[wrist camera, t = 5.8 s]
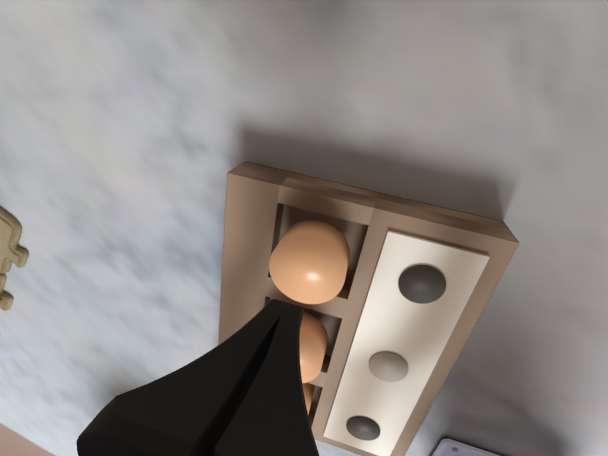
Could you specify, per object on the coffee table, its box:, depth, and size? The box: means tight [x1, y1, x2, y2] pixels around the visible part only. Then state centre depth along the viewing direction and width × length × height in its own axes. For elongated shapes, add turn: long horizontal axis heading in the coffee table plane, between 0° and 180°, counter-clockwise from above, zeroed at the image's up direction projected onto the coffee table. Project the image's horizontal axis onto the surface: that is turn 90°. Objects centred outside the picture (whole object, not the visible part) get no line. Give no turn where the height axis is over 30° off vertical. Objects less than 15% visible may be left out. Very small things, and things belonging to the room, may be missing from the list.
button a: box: [269, 219, 350, 304], centre depth 18 cm, size 4×4×2 cm
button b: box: [300, 312, 328, 383], centre depth 21 cm, size 4×4×2 cm
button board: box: [218, 162, 519, 456], centre depth 22 cm, size 15×20×3 cm
